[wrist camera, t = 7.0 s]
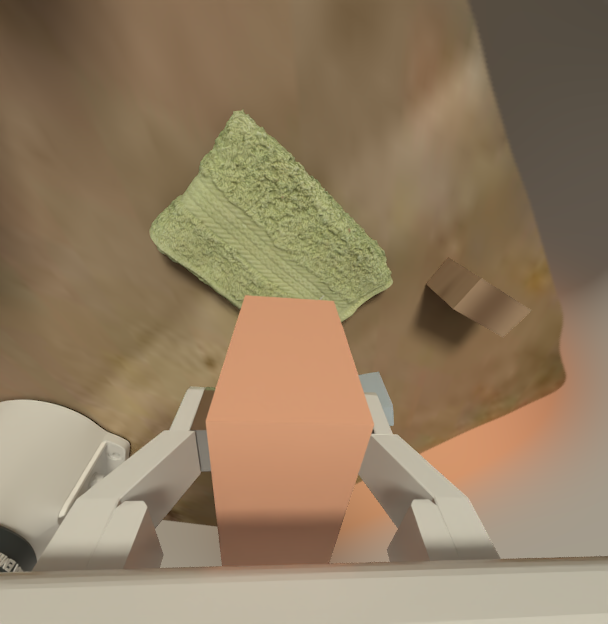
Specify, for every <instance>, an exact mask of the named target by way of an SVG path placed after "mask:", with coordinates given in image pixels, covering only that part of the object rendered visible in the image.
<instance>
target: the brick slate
mask: <svg viewBox="0 0 608 624" xmlns="http://www.w3.org/2000/svg"><path fill="white" fill-rule="evenodd" d="M358 376H359V379H360V382H361V385H362V388H363V391H364V392H375V393H376V394H377V395H378V398H379V400H380V403H381V406H382V408H383V411H384V413H385V416H386V418H387V421H388V423H389V426H392V425H394V420H393V405H392V402H391V400H390V398H389V395H388V393H387V390H386V388H385V386H384V383H383V381H382V379H381V376H380V374H379V372H374V373H369V374H363V375H358Z"/></svg>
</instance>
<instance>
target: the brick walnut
mask: <svg viewBox="0 0 608 624" xmlns="http://www.w3.org/2000/svg"><path fill="white" fill-rule="evenodd" d="M426 285H427V286H429V287H430V288H431V289H432V290H433V291H434V292H435V293H436V294H437V295H438V296H439V297H441V298H442V299H443V300H444V301H445V302H446V303H447V304H448V305H449V306H450V307H451V308H453V309H454V310H456V311H458V312H459V313H461V314H463V315H465V316H466V317H468V318H470V319H472V320H473V321H475V322H477V323H479V324H480V325H482V326H484V327H486V328H487V329H489V330H491V331H493V332H494V333H496V334H498V335H500V336H501V337H504V336H505V335H506V334H507V333H508V332H509V331H510V330H512V329H513V328H514V327H515V326H516V325H517V324H518V323H519V322H520V321H521V320H522V319H523V318H524V317H526V316H527V315H528V314H529V313H530V312H531V311H532V310H530V309H529V308H527V307H526V306H524V305H523V304H521V303H519V302H518V301H516V300H515V299H513V298H512V297H510V296H508V295H507V294H505V293H504V292H502V291H501V290H499V289H497V288H496V287H494V286H493V285H491V284H490V283H488V282H487V281H485V280H483V279H482V278H480V277H479V276H477V275H475V274H474V273H472V272H471V271H469V270H467V269H466V268H464V267H463V266H461V265H459V264H458V263H456V262H455V261H453V260H451V259H450V258H447V259H446V261H445V262H444V263H443V264H442V265H441V267H440V268H439V269H438V270H437V271H436V273H435V274H434V275H433V276H432V277H431V279H430V280H429V281H428V282H427V284H426Z"/></svg>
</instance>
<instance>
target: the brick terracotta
mask: <svg viewBox="0 0 608 624" xmlns="http://www.w3.org/2000/svg"><path fill="white" fill-rule="evenodd" d="M373 427H374V422H373V419H372V416H371V413H370V410H369V407H368V404H367V401H366V397H365V394H364V391H363V388H362V385H361V382H360V379H359V376H358V373H357V370H356V367H355V364H354V361H353V358H352V355H351V352H350V349H349V345H348V342H347V339H346V336H345V333H344V330H343V327H342V324H341V321H340V318H339V315H338V312H337V309H336V306H335V303H334V301H328V300H312V299H296V298H280V297H264V296H249V295H245V297H244V300H243V303H242V307H241V310H240V313H239V316H238V319H237V323H236V326H235V329H234V332H233V335H232V338H231V342H230V345H229V348H228V351H227V354H226V358H225V361H224V364H223V367H222V370H221V373H220V377H219V380H218V383H217V386H216V389H215V393H214V396H213V399H212V402H211V405H210V408H209V412H208V415H207V418H206V429H207V438H208V447H209V456H210V464H211V473H212V482H213V491H214V499H215V508H216V517H217V526H218V534H219V543H220V552H221V560H222V566H254V565H292V564H329V562H330V559H331V556H332V553H333V550H334V547H335V544H336V540H337V537H338V534H339V531H340V528H341V525H342V522H343V519H344V516H345V513H346V510H347V507H348V504H349V501H350V497H351V494H352V491H353V488H354V485H355V482H356V479H357V476H358V473H359V470H360V467H361V464H362V461H363V458H364V455H365V452H366V449H367V446H368V443H369V439H370V436H371V433H372V430H373Z"/></svg>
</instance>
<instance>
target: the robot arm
mask: <svg viewBox="0 0 608 624" xmlns="http://www.w3.org/2000/svg"><path fill="white" fill-rule="evenodd" d="M215 389H216V388H213V387H189V389H188V390H187V391H186V393H185V396H184V398H183V400H182V402H181V405H180V407H179V409H178V412H177V414H176V416H175V418H174V421H173V423H172V425H171V427H170V430H164V431H163V432H161V433H160V434H159V435H158V436H156V437H155V438H154V439H152V440H151V441H150V442H149V443H147V444H146V445H145V446H144V447H142V448H141V449H140V450H138V451H137V452H136V453H135V454H133V455H132V456H131V457H130V458H129V452H130V443H129V442H128V441H127V440H125V439H123V438H121V437H119V436H117V435H114V434H112V433H109V432H107V431H105V430H104V429H102V428H101V427H99V426H98V425H97V424H95V423H94V422H93V421H91V420H90V419H88V418H87V417H85V416H83V415H81V414H79V413H77V412H75V411H73V410H71V409H68V408H65V407H62V406H59V405H56V404H52V403H48V402H42V401H36V400H9V401H4V402H0V624H608V556H594V557H557V558H518V559H500V557H499V555H498V553H497V551H496V549H495V547H494V545H493V543H492V542H491V540H490V538H489V536H488V534H487V532H486V531H485V528H484V527H483V525H482V523H481V521H480V519H479V517H478V515H477V514H476V512H475V510H474V508H473V506H472V504H471V502H470V500H469V499H468V497H467V496H465V495H464V494H463V493H462V492H461V491H460V490H458V489H457V488H456V487H455V486H454V485H453V484H452V483H451V482H450V481H449V480H448V479H446V478H445V477H444V476H443V475H442V474H441V473H440V472H438V471H437V470H436V469H435V468H434V467H433V466H432V465H431V464H430V463H429V462H427V461H426V460H425V459H424V458H423V457H422V456H421V455H420V454H419V453H417V452H416V451H415V450H414V449H413V448H412V447H411V446H410V445H408V444H407V443H406V442H405V441H404V440H403V439H402V438H401V437H400V436H398V435H396V434H392V431H391V429H390V426H389V423H388V421H387V418H386V416H385V413H384V411H383V408H382V406H381V403H380V400H379V398H378V395H377V394H376V393H375V392H364V394H365V397H366V401H367V404H368V407H369V410H370V413H371V416H372V419H373V422H374V427H373V430H372V433H371V436H370V439H369V443H368V446H367V449H366V452H365V455H364V458H363V461H362V464H361V467H360V470H359V473H358V474H359V476H360V477H361V479H362V480H363V481H364V483H365V484H366V485H367V487H368V488H369V489H370V491H371V492H372V493H373V495H374V496H375V498H376V499H377V500H378V502H379V503H380V504H381V506H382V507H383V509H384V510H385V511H386V513H387V514H388V515H389V517H390V518H391V519H392V521H393V522H394V524H395V525H396V526H397V528H398V530H397V532H396V534H395V535H394V538H393V539H392V541H391V543H390V545H389V547H388V549H387V552H388V556H389V560H390V562H372V563H371V562H368V563H331V564H330V563H329V564H292V565H254V566H216V567H181V568H180V567H179V568H160V565H161V562H162V559H163V552H162V549H161V546H160V543H159V540H158V537H157V534H156V531H155V528H156V527H157V526H158V524H159V523H160V522H161V521H162V520H163V518H164V517H165V516H166V515H167V514H168V512H169V511H170V510H171V509H172V508H173V506H174V505H175V504H176V503H177V502H178V500H179V499H180V498H181V497H182V495H183V494H184V493H185V492H186V491H187V489H188V488H189V487H190V486H191V485H192V483H193V482H194V481H195V480H196V478H197V477H198V476H199V475H200V474H201V471H211V464H210V456H209V447H208V438H207V429H206V418H207V415H208V412H209V408H210V405H211V402H212V399H213V396H214V393H215Z"/></svg>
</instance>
